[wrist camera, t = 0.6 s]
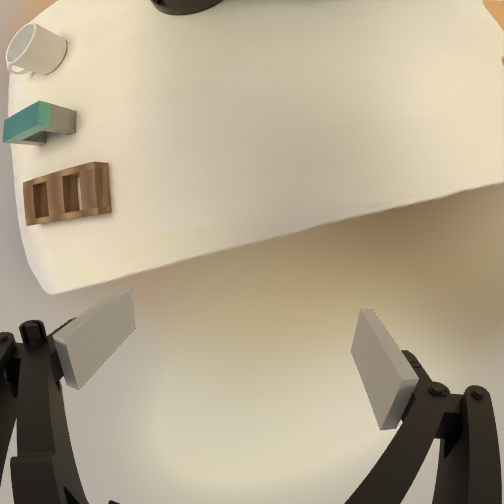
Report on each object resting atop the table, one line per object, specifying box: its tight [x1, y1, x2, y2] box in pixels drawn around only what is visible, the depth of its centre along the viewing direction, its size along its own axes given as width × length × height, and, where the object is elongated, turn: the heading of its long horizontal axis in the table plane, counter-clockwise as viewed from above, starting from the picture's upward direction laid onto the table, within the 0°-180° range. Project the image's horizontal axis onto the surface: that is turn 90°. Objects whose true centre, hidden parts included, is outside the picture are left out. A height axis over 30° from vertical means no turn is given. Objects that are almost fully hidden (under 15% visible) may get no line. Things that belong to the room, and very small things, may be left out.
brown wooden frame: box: [23, 162, 111, 226], centre depth 41 cm, size 18×8×4 cm, turn 94°
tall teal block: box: [3, 101, 76, 146], centre depth 35 cm, size 10×4×10 cm, turn 94°
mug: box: [6, 22, 67, 75], centre depth 32 cm, size 9×12×11 cm
